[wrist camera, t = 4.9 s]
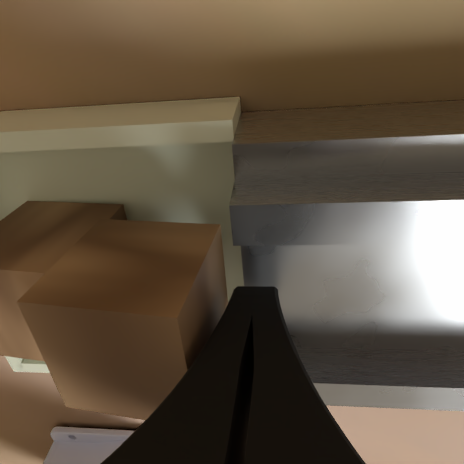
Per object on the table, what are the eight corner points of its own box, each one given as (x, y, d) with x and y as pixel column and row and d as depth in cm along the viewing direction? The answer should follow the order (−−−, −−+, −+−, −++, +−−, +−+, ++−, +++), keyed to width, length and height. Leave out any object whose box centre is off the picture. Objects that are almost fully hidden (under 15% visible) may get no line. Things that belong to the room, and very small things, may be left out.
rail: (255, 327, 18) (250, 418, 14) (241, 112, 13) (225, 167, 9) (587, 332, 16) (681, 438, 12) (736, 84, 11) (981, 139, 7)
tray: (42, 330, 20) (14, 371, 18) (-66, 115, 14) (-127, 138, 12) (256, 334, 18) (253, 380, 16) (239, 96, 12) (232, 120, 10)
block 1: (145, 288, 16) (60, 281, 17) (123, 204, 14) (27, 200, 15) (98, 368, 13) (-4, 354, 14) (59, 274, 10) (-59, 265, 11)
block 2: (126, 311, 14) (66, 407, 11) (100, 218, 12) (16, 302, 9) (230, 322, 14) (198, 428, 10) (220, 224, 11) (177, 318, 8)
